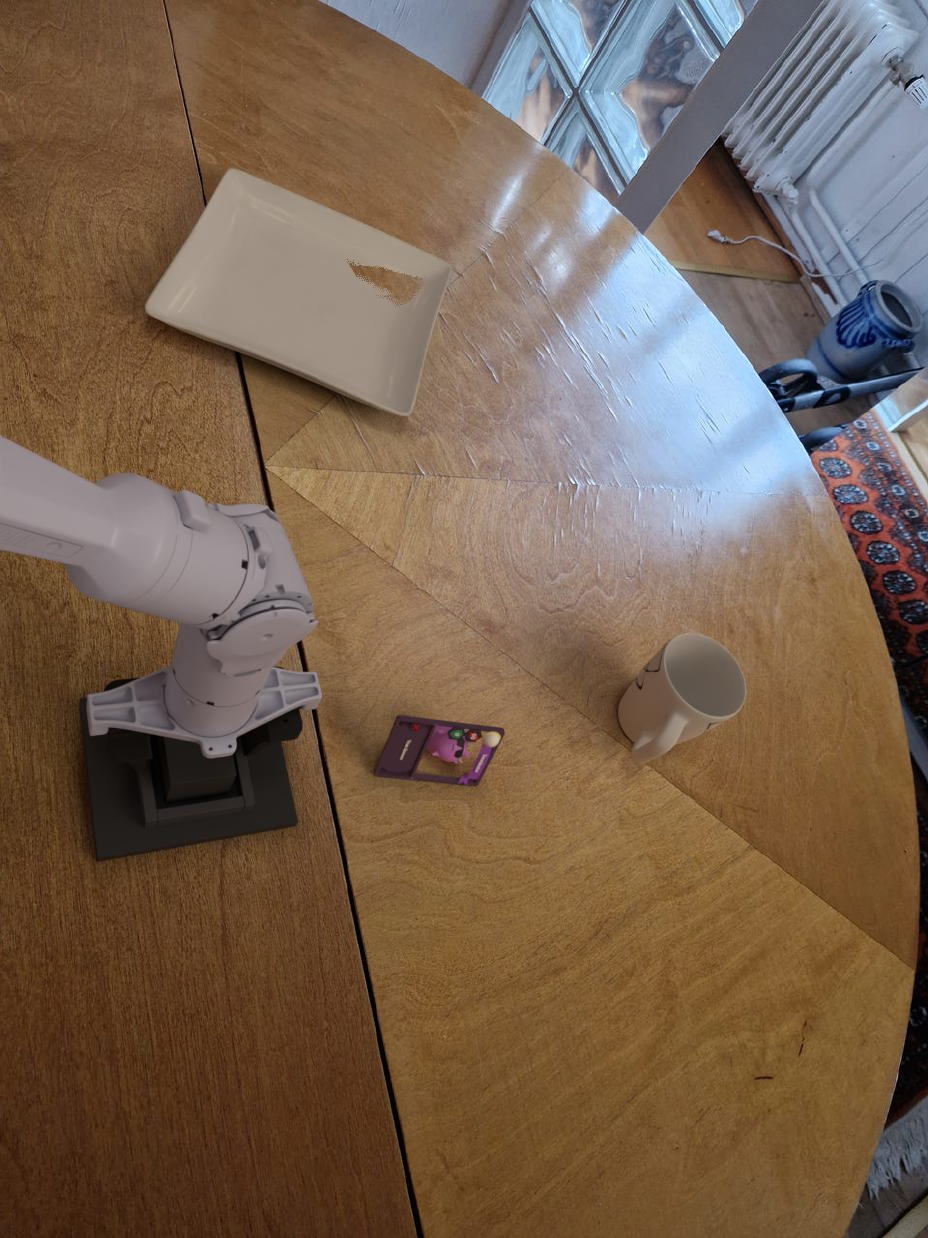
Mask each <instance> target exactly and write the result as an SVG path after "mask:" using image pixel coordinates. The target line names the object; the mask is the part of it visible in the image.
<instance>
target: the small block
mask: <svg viewBox="0 0 928 1238" xmlns="http://www.w3.org/2000/svg"><path fill="white" fill-rule="evenodd" d="M155 742H156V749H157V756H158V763H159V769H160V776H161V783H162V790H163V796H164V803H165V804H169V803H175V802H181V801H188V800H194V799H200V798H207V797H213V796H220V795H226V794H228V792H229V790H230V788H231V786H232V783H233V781H234V779H235V777H236V769H235V764H234V759H233V754H232V755H230V756H225V757H217V758H206V757H205V756H203V754H202V751H201V746H200V745H199V744H198V743H196V742H191V741H186V740H180V739H175V738H170V737H164V736H159V735H155Z"/></svg>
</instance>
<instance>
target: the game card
mask: <svg viewBox="0 0 928 1238" xmlns="http://www.w3.org/2000/svg"><path fill="white" fill-rule="evenodd" d="M482 732H485V733H484V734H482ZM505 734H506V732H505V728H504V727H498V726H491V725H482V724H476V723H467V722H460V721H453V720H451V721H450V720H443V719H436V718H426V717H419V716H411V715H402V714H399V715H397V716H396V717H395V720H394V722H393V724H392V727H391V730H390V731H389V734H388V736H387V739H386V742H385V744H384V746H383V748H382V751H381V753H380V756H379V759H378V761H377V763H376V766H375V768H374V776H375V777H379V778H380V777H381V778H388V779H389V778H390V779H400V780H410V781H419V782H430V783H440V784H449V785H460V786H468V787H469V786H471V787H477V786H479V784H480V783H481V781H482V779H483V777H484V775H485V773H486V771H487V769H488V768H489V765H490V764H491V761H492V760H493V757H494V755H495V754H496V751H497V750H498V748H499V746H500V744H501V742H502V740H503V738H504V737H505ZM479 740H480V741H481V746H480V749H479V751H478V755H477V757H476V758H475V761H474V763H473V766H472V767H471V769H470V771H469V773H468V774H462V775H461V777H453V776H443V775H434V774H424V773H416V772H417V770H418V768H419V765H420V763H421V761H422V759H423V756H424V754H425V752H426V751H428V752H429V753H431V756H433V757H436V758H438V759H440V760H442V761H444V762H448V763H452V762H454V763H455V764H457V763H458V762H460V763H461V764H462V763H464V762H463V761H462V758H463V756H464V757H466V758H468V757H469V758H472V757H473V755H472V754H470V753H469V752H467V750H468V746H469V744H473V743H476V742H478V741H479Z"/></svg>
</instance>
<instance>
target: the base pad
mask: <svg viewBox="0 0 928 1238" xmlns="http://www.w3.org/2000/svg"><path fill="white" fill-rule="evenodd" d="M78 706H79V716H80V724H81V734H82V735H81V736H82V742H83V752H84V753H83V754H84V762H85V769H86V779H87V786H88V787H87V789H88V797H89V806H90V814H91V824H92V832H93V833H92V834H93V842H94V850H95V860H96V862H104V861H109V860H110V861H111V860H114V859H120V858H125V857H131V856H138V855H143V854H148V853H155V852H160V851H164V850H170V849H176V848H181V847H188V846H193V845H198V844H204V843H209V842H210V843H211V842H215V841H220V840H225V839H231V838H236V837H237V838H238V837H243V836H248V835H254V834H259V833H265V832H270V831H276V830H282V829H286V828H292V827H296V826H297V824H298V823H299V820H298V814H297V810H296V805H295V801H294V795H293V791H292V786H291V781H290V776H289V773H288V767H287V762H286V757H285V753H284V748H283V744H282V743H283V742H275V743H273V744H271V745H269V746H267V747H266V748H264V749H262V750H261V751H259V752H258V753H256V754H254V755H251V756H244V753H243V748H242V743H241V737H240V736H238V737H237V738H236V743H237V747H236V750H235V752H234V753H233V759H234V764H235V769H236V777H235V779H234V781H233V783H232V786H231V788H230V790H229V792H228V794H226V795H220V796H213V797H207V798H200V799H194V800H188V801H181V802H175V803H169V804H165V803H164V796H163V790H162V783H161V776H160V769H159V763H158V756H157V749H156V742H155V735H154V734H149V736H150V743H151V750H152V757H153V759H149V760H147V761H146V769H145V770H144V771H137V772H135V771H134V770H133V767H132V765H131V764H130V763H128V762H126V763H116V762H115V761H114V759H113V757H112V755H111V752H110V747H109V739H108V732H107V733H106V734H102V735H94V736H90V734H89V726H88V717H87V697H81V698H79V700H78Z"/></svg>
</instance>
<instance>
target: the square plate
mask: <svg viewBox="0 0 928 1238" xmlns="http://www.w3.org/2000/svg"><path fill="white" fill-rule="evenodd" d="M347 259H348V260H347ZM353 260H354V261H353ZM348 261H349V262H348ZM350 261H351V262H350ZM347 262H348V263H347ZM352 262H354V266H355V264H356V266H359V265H362V266H370V267H371V266H372V267H373V266H374V267H375V266H377V267H378V266H379V267H382V268H383V267H384V269H386V268H387V269H388V270H392V271H393V270H394V271H393V272H398V271H399V272H398V273H400V274H401V273H403V274H404V273H405V275H406V274H407V275H410V276H411V275H412V277H416V276H418V277H419V279H420V278H423V280H422V281H424V282H423V283H424V285H423V287H420V288H422V289H419V291H418V292H416V293H415V294H413V295H416V296H413V299H411V300H410V302H409V301H408V302H405V303H407V304H404V305H400V304H401V303H400V304H399V303H398V304H399V306H400V307H399V306H398V305H397V306H396V304H397V303H396V304H395V302H396V301H395V302H394V300H395V299H394V300H393V299H392V300H393V302H394V304H393V302H392V300H391V298H392V297H391V298H390V296H389V295H390V294H391V292H390V293H389V291H390V290H389V291H388V290H387V288H386V289H385V288H384V289H383V290H385V291H384V292H383V290H382V289H381V290H380V288H381V287H380V288H379V287H378V288H377V286H374V285H375V284H374V283H373V282H372V283H373V284H372V283H371V282H366V280H365V281H364V279H365V278H364V279H363V278H362V277H356V275H355V273H354V272H353V270H352V268H351V267H350V265H349V263H352ZM358 263H359V264H358ZM352 265H353V263H352ZM377 267H376V268H377ZM379 267H378V268H379ZM387 269H386V271H387ZM452 272H453V266H452V263H450V262H449V261H447V260H446V259H444V258H441V257H439V256H438V255H437V256H436V255H435V254H433V253H430V252H428V251H426V250H423V249H421V248H419V247H417V246H415V245H412V244H411V243H408V242H406V241H404V240H401V239H400V238H398V237H395V236H393V235H392V234H389V233H387V232H385V231H382V230H380V229H378V228H376V227H374V226H371V225H369V224H366V223H365V222H362V221H360V220H358V219H355V218H354V217H351V216H348V215H346V214H344V213H342V212H340V211H337V210H335V209H333V208H332V207H331V208H330V207H328V206H326V205H323V204H321V203H319V202H317V201H314V200H312V199H309V198H308V197H305V196H302V195H301V194H298V193H297V192H294V191H291V190H289V189H286V188H285V187H282V186H280V185H277V184H275V183H272V182H270V181H267V180H265V179H263V178H261V177H258V176H255V175H253V174H251V173H248V172H246V171H244V170H241V169H239V168H234V167H229V168H228V169H227V170H226V171H225V172H224V174H223V175H222V177H221V178H220V180H219V182H218V184H217V185H216V187H215V189H214V191H213V193H212V195H211V196H210V198H209V199H208V202H207V204H206V205H205V208H204V209H203V211H202V213H201V214H200V216H199V217H198V219H197V221H196V223H195V224H194V226H193V227H192V229H191V231H190V232H189V234H188V235H187V237H186V238H185V240H184V242H183V243H182V245H181V247H180V248H179V250H178V251H177V253H176V254H175V256H174V258H173V259H172V260H171V263H169V265H168V266H167V268H166V270H164V271H163V274H162V276H161V277H160V279H159V280H158V282H157V283H156V285H155V286H154V288H153V289H152V291H151V293H150V295H148V298H147V300H146V302H145V303H144V311H145V313H146V314H147V315H148V316H150V317H152V318H154V319H155V320H158V321H160V322H162V323H164V324H166V325H167V326H170V327H172V328H174V329H176V330H179V331H181V332H184V333H186V334H189V335H190V336H193V337H196V338H199V339H200V340H203V341H206V342H210V343H212V344H215V345H218V346H220V347H224V348H225V349H229V350H232V351H235V352H237V353H240V354H243V355H246V356H248V357H250V358H254V359H256V360H258V361H261V362H263V363H267V364H268V365H271V366H274V367H276V368H278V369H282V370H283V371H285V372H287V373H290V374H294V375H295V376H298V377H300V378H303V379H305V380H308V381H310V382H313V383H315V384H317V385H319V386H321V387H324V388H326V389H327V390H328V389H329V390H330V391H333V392H335V393H337V394H339V395H342V396H344V397H347V398H349V399H350V400H353V401H355V402H357V403H360V404H363V405H366V406H368V407H371V408H374V409H377V410H379V411H382V412H385V413H389V414H393V415H396V416H400V417H409V416H411V414H412V412H413V410H414V408H415V404H416V401H417V397H418V393H419V389H420V385H421V381H422V376H423V372H424V367H425V362H426V360H427V359H426V358H427V354H428V351H429V347H430V343H431V339H432V336H433V333H434V329H435V325H436V322H437V318H438V316H439V312H440V311H441V306H442V304H443V301H444V298H445V296H446V293H447V289H448V287H449V284H450V282H451V278H452ZM359 274H360V273H359ZM357 276H359V275H357ZM360 276H361V275H360ZM363 277H364V276H363ZM365 277H366V276H365ZM418 277H417V278H418ZM359 278H360V279H359ZM361 278H362V279H361ZM366 279H367V278H366ZM368 279H369V278H368ZM362 280H363V281H362ZM367 281H368V280H367ZM369 281H370V280H369ZM368 283H369V284H368ZM370 283H371V284H370ZM373 287H374V288H373ZM375 287H376V288H375ZM374 289H375V290H374ZM376 289H377V290H376ZM378 289H379V290H378ZM386 290H387V291H386ZM379 291H380V292H379ZM381 291H382V292H381ZM416 291H417V290H416ZM387 292H388V293H387ZM382 293H383V294H382ZM392 293H393V292H392ZM388 294H389V295H388ZM376 295H377V296H376ZM378 295H379V296H378ZM380 295H381V297H382V295H383V297H384V296H385V295H386V296H387V295H388V296H389V298H390V300H391V301H390V300H389V298H388V297H384V299H383V297H382V298H381V297H380ZM391 295H392V294H391ZM393 295H394V294H393ZM379 297H380V298H379ZM386 298H388V299H386ZM397 302H398V301H397ZM402 304H403V303H402ZM394 305H395V306H394ZM395 307H396V308H395Z"/></svg>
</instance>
